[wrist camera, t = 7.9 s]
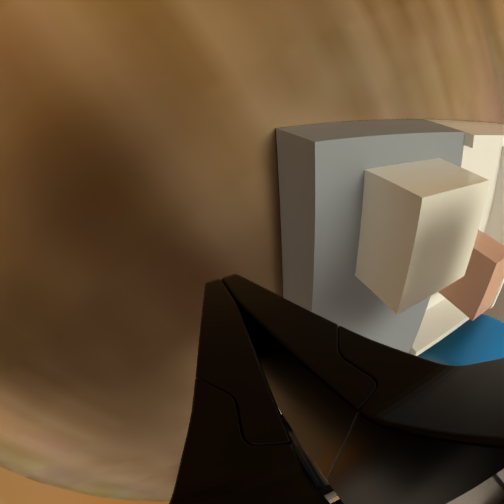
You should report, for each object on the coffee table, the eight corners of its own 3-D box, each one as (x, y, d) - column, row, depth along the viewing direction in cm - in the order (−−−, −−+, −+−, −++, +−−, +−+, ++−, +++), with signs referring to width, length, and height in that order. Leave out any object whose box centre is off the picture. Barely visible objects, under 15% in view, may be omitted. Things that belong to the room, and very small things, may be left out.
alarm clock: (445, 356, 30) (522, 438, 18) (406, 389, 29) (482, 480, 18) (461, 283, 22) (579, 390, 10) (412, 327, 22) (534, 456, 10)
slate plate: (387, 330, 20) (409, 353, 18) (284, 377, 18) (303, 408, 16) (424, 119, 12) (464, 132, 10) (275, 128, 10) (314, 141, 8)
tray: (465, 283, 23) (493, 305, 20) (387, 330, 20) (418, 362, 17) (502, 123, 15) (542, 139, 12) (424, 119, 12) (483, 138, 10)
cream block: (424, 247, 13) (464, 276, 11) (354, 275, 12) (396, 314, 10) (439, 158, 11) (489, 180, 9) (364, 169, 9) (422, 197, 7)
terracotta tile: (428, 284, 19) (449, 273, 19) (472, 321, 15) (490, 305, 16) (443, 228, 16) (464, 220, 17) (496, 263, 13) (512, 251, 14)
